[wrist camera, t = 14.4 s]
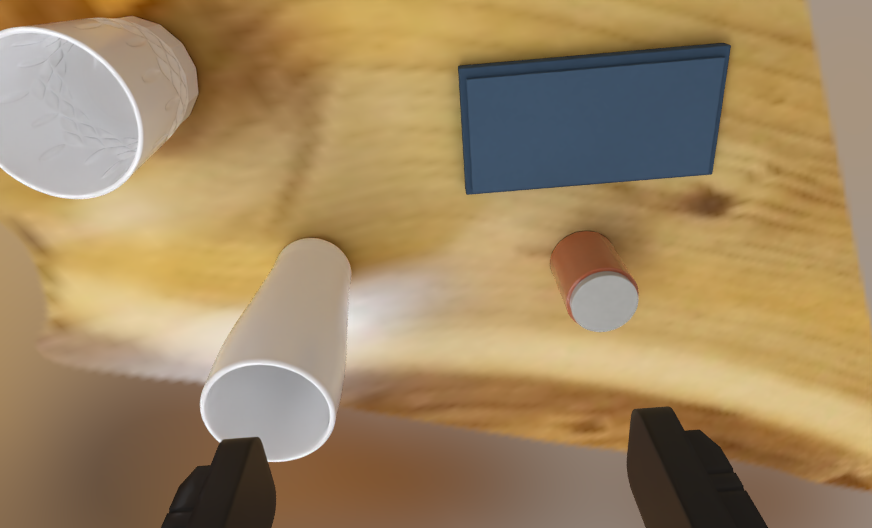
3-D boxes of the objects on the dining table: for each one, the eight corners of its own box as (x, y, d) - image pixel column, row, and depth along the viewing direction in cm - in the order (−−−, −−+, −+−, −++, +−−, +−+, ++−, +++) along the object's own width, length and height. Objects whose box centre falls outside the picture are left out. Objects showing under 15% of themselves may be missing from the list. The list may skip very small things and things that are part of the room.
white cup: (61, -2, 34) (-64, 18, 25) (203, 11, 35) (129, 35, 26) (87, 134, 38) (-15, 193, 29) (214, 144, 38) (153, 205, 29)
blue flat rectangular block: (457, 65, 36) (459, 69, 35) (723, 42, 36) (733, 45, 35) (465, 189, 40) (466, 196, 39) (705, 169, 40) (714, 176, 39)
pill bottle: (550, 233, 42) (569, 275, 37) (616, 228, 42) (645, 269, 36) (549, 290, 44) (567, 337, 39) (612, 285, 44) (638, 332, 39)
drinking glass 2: (248, 244, 42) (169, 385, 28) (337, 211, 41) (297, 340, 27) (294, 320, 45) (241, 479, 31) (377, 290, 44) (359, 442, 30)
